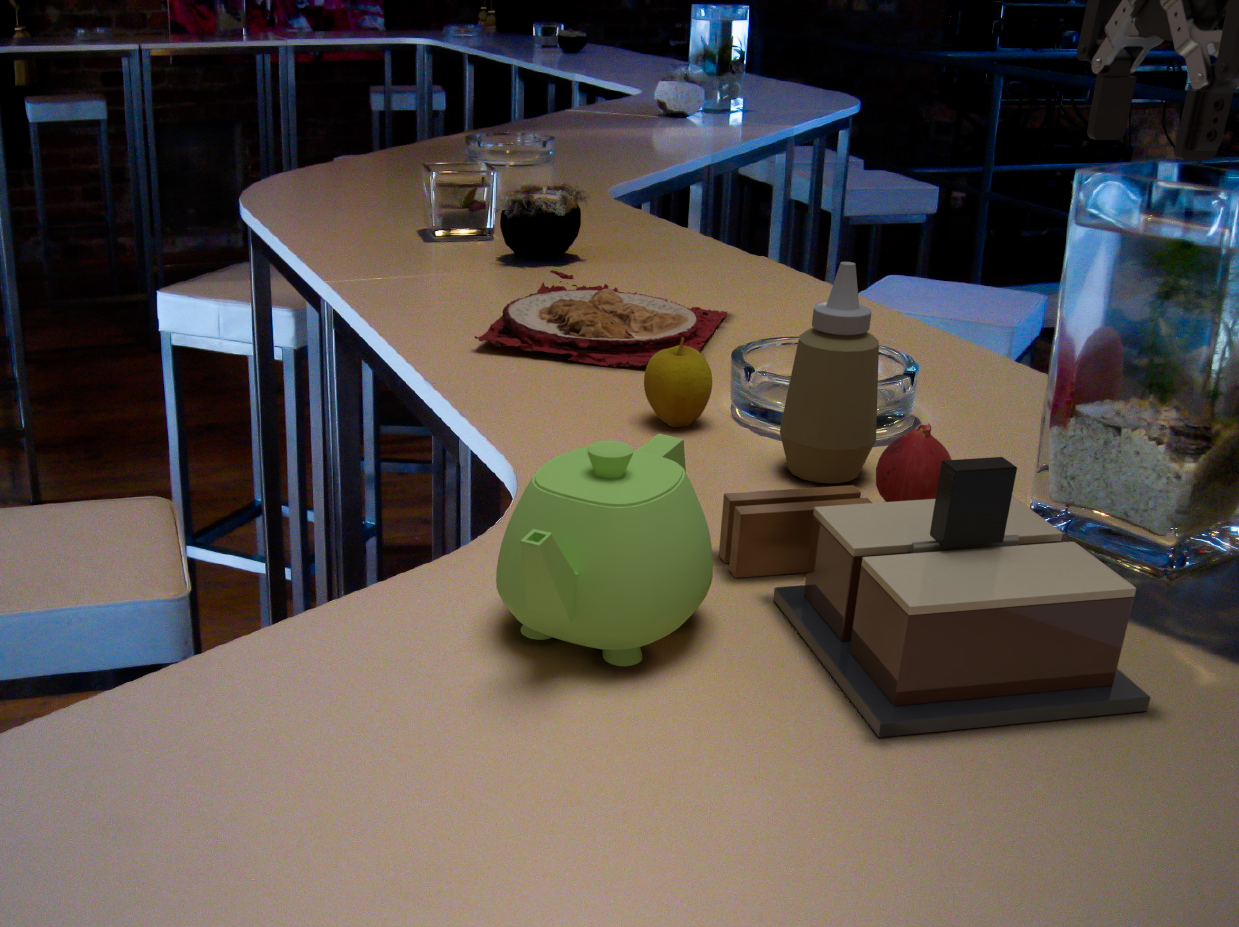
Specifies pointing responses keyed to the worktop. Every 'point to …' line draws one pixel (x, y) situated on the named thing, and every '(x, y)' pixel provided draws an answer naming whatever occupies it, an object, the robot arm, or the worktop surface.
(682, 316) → the plate with food
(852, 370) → the squeeze bottle
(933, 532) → the knife
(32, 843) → the worktop surface
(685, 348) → the apple
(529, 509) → the teapot
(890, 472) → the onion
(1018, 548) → the cake
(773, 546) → the knife block
